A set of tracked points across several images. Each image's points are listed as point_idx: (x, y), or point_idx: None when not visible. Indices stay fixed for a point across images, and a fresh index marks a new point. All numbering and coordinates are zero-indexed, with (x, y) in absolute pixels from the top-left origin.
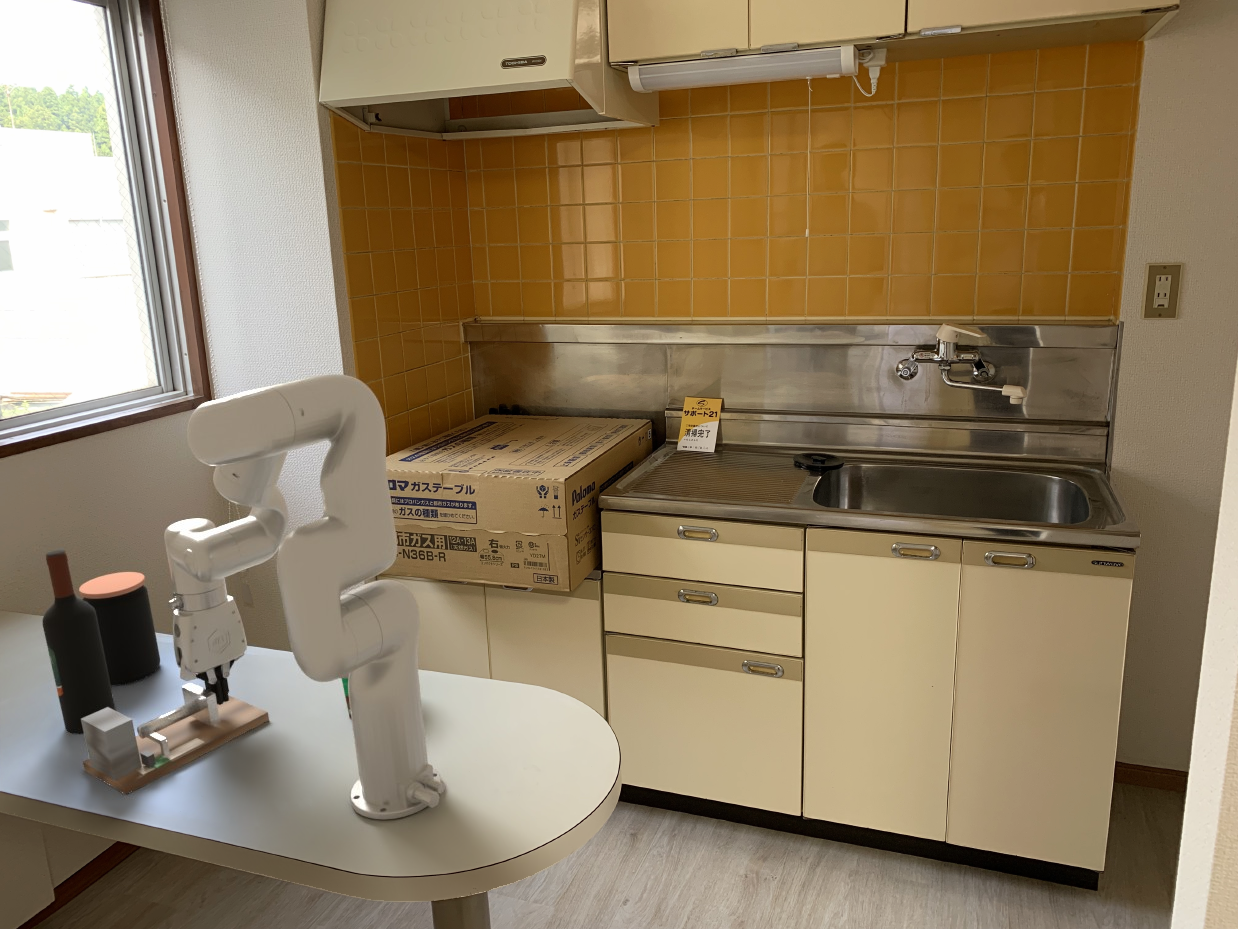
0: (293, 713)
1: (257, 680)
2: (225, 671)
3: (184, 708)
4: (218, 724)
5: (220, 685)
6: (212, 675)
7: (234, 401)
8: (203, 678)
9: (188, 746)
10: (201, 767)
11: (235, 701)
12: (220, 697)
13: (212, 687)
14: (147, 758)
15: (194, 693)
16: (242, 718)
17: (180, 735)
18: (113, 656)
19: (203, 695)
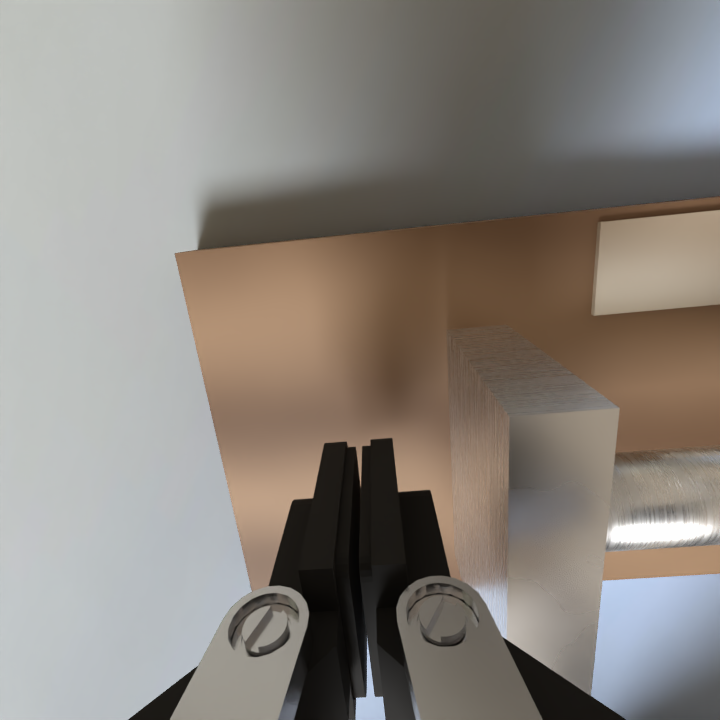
0: (66, 207)
1: (92, 622)
2: (259, 663)
3: (673, 502)
4: (431, 361)
5: (366, 537)
6: (450, 682)
7: None
8: (561, 700)
9: (680, 262)
10: (692, 79)
11: (252, 506)
12: (386, 463)
13: (430, 563)
14: None
15: (593, 587)
16: (312, 310)
17: None
18: None
19: (604, 474)
